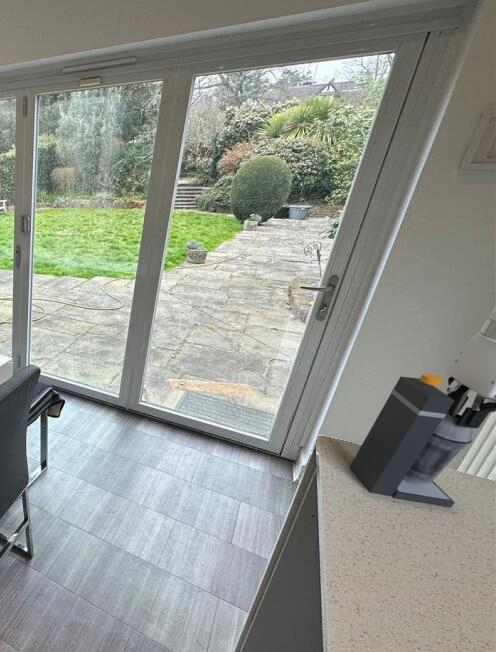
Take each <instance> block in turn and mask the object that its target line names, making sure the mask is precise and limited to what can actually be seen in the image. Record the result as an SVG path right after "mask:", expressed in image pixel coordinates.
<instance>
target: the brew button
mask: <svg viewBox="0 0 496 652" xmlns="http://www.w3.org/2000/svg"><path fill="white" fill-rule="evenodd" d="M419 379H420V380H421V381H422V382H424V383H426V384H429V385H433V386H434V387H439V386H441V384H442V383H443V381H444V378H443V377H442V376H440V375H437V374H433V373H429V372H424V373H422V375H420V377H419Z"/></svg>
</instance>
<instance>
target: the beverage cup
mask: <svg viewBox="0 0 496 652" xmlns="http://www.w3.org/2000/svg"><path fill="white" fill-rule="evenodd" d="M467 396H469V393H466V392H465V393H464V395H463V396H462V398H461V400H460V402H459V404H458V405H457V407H456V409H455V411H454V413H452V412H447V413H446V416H445V417H444V418H443V419H442V421H441V422H440V424H439V425H438V427H437V428H436V430H435V431H434V433H433V435H432V436H431V438H430V439H429V441H428V442H427V444H426V445H425V447H424V448H423V450H422V451H421V453H420V454H419V456H418V457H417V459H416V460H415V462H414V464H413V465H412V467H411V468H410V470H409V471H408V473H407V474H406V476H407V477H409V478H411V479H413V480H415V481H417V482H420V483H425V484H429V483H431V482H432V481H434V480H435V479H436V478H437V477H438V476H439V475H440V474H441V473H442V471H443V470H444V469H445V468H446V467H448V465H450V463H451V462H452V461H453V459H454V458H455V457H456V456H457V455H458V454H459V453H460V451H462V450H464V449H465V448H466V447H467V446H468V445H469V444H471V443H472V442H473V438H474V436H475V430H474V429H475V428H469V427H461V426H458V425H457V424H456V422H457V421H458V419H459V418H460V416H461V415H462V414H460V413H458V411H459V409H460V407H461V406H462V404H463V402H464V400H465V399H466V397H467ZM457 413H458V414H457Z"/></svg>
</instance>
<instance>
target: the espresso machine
mask: <svg viewBox="0 0 496 652" xmlns="http://www.w3.org/2000/svg"><path fill="white" fill-rule="evenodd" d="M454 401H455V400H453V399H452V398H450V397H449V396H447V394H446V393H445V392H443V391H442V390H440V389H439V388H437V386H434V385H429V384H426V383H424V382H422V381H421V380H420V377H419V378H417V377H409V376H400V377H399V378H398V380H397V382H396V383H395V386H394V387H393V388H392V390H391V391H390V394H389V396H388V398H387V399H386V401H385V403H384V405H383V407H382V409H381V410H380V412H379V414H378V416H377V417H376V418H375V421H374V423H373V424H372V426H371V428H370V430H369V432H368V434H367V435H366V436H365V439H363V442H362V444H361V446H360V448H359V449H358V451H357V452H356V454H355V456H354V458H353V460H352V462H351V463H350V465H349V469H350V470H351V471H352V472H353V474H354V475H355V476H356V477H357V478H358V480H359V481H360V482H361V483H362V485H363V486H364V487H365V489H366V490H367V491H368V492H369V493H370V494H375V495H382V496H387V497H392V498H393V499H396V500H397V499H398V500H402V501H403V500H404V501H408V502H414V503H421V504H426V505H433V506H438V507H444V508H452V507H453V506H454V505H455V501H454V500H453V499H452V498H451V497H450V496H449V495H448V494H447V493H446V492H445V491H444V490H443V489H442V488H441V487H440V486H439V485H438V484H437V483H436V482H435V481H434V480H433V481H432V482H431V483H429V484H425V483H420V482H417V481H415V480H413V479H411V478H409V477H407V476H406V474H407V473H408V471H409V470H410V468H411V467H412V465H413V464H414V462H415V460H416V459H417V457H418V456H419V454H420V453H421V451H422V450H423V448H424V447H425V445H426V444H427V442H428V441H429V439H430V438H431V436H432V435H433V433H434V431H435V430H436V428H437V427H438V425H439V424H440V422H441V421H442V419H443V418H444V417H445V416H446V413H447V412H448V410H449V409H450V407H451V406H452V404H453V402H454Z"/></svg>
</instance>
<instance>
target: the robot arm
mask: <svg viewBox="0 0 496 652" xmlns="http://www.w3.org/2000/svg"><path fill="white" fill-rule="evenodd" d="M445 373H446V376H447V384H448V387H447V388H446V389H445V391H446V393H447V394H446V395H447V396H449V397H450V398H452V399H453V400H455V401H454V402H453V404H452V406H451V407H450V409H449V410H448V412H452V413H454V411H455V409H456V407H457V405H458V404H459V402H460V400H461V398H462V396H463V395H464V393H465V392H466V393H468V394H469V393H470V392H472V391H473V392H474V393H476V395H475V397H474V399H473V402H472V404H471V407H470V406H466V403H467V402H468V400H469V398H470V397H469V395H467V397H466V399H465V400H464V402H463V404H462V406H461V407H460V409H459V411H458V413H457V414H460V413H461V411H462V409H463V408H464V406H466V408H465V409H464V410H463V412H462V413H461V414H460V415H461V416H460V418H459V419H458V421H457V422H456V424H457V425H458V426H461V427H469V428H473V429H479V428H480V426H482V424H483V422H484V421H485V419H486V418H487V417H488V415H490V414H491V413H492V414H493V413H495V412H496V305H495V306H494V308H493V309H492V311H491V312H490V314H489V316H488V318H487V319H486V321H485V322H484V324H483V325H482V327H481V328H480V330H478V331H477V332H476V333H475V334H474V335H473V336H472V337H471V338H470V339H469V340H468V341H467V343H466V344H465V345H464V347H463V348H462V349H461V351H460V352H459V353H458V355H457V356H456V357H455V359H454V361H453V363H452V364H451V365H450V366H448V367H447V368H446V369H445ZM485 400H488V402H485Z"/></svg>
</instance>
